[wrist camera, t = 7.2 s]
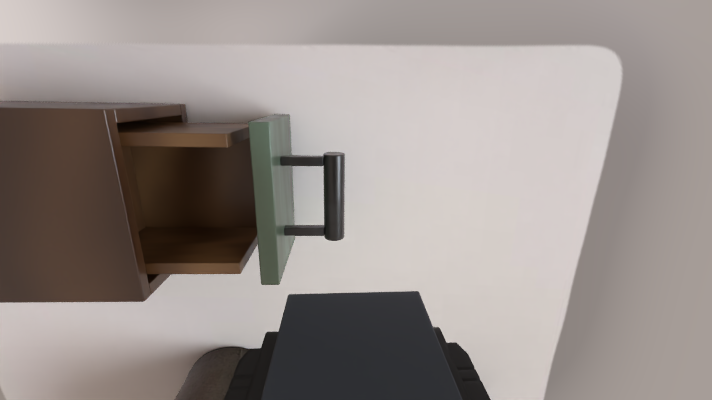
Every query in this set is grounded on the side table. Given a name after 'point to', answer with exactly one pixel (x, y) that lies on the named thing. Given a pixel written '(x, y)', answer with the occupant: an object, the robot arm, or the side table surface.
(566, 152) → the side table surface
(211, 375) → the pillar candle
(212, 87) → the side table surface
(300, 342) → the block
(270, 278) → the drawer
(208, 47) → the side table surface
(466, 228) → the side table surface
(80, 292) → the cabinet
